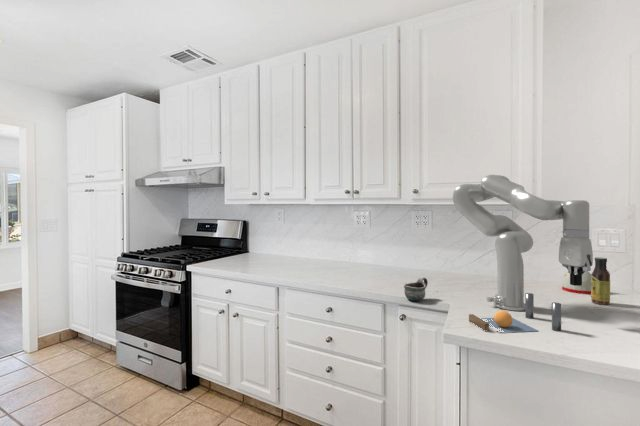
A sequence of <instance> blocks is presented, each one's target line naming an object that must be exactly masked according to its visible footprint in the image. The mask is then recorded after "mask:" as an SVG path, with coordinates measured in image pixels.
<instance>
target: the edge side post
mask: <svg viewBox="0 0 640 426" xmlns="http://www.w3.org/2000/svg"><path fill="white" fill-rule="evenodd" d="M551 330H552V331H554V332H562V303H560V302H551Z"/></svg>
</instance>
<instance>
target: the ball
mask: <svg viewBox="0 0 640 426" xmlns="http://www.w3.org/2000/svg"><path fill="white" fill-rule="evenodd" d="M493 318H494V320H495V322H496V324H497V325H498V326H500V327H504V328H505V327H509V326H510V325H511V324H512V318H513V317H512V315H511V313H509V312H508V311H506V310H498V311H497V312H495V314H494V317H493Z"/></svg>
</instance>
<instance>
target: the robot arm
mask: <svg viewBox="0 0 640 426" xmlns="http://www.w3.org/2000/svg"><path fill="white" fill-rule="evenodd" d="M494 198H497V199H498V200H501V201H503V202H505V203H508V204H509V205H511V206H512V207H514V208H515V209H517V210H518V211H520V212H522V213H524V214H526V215H527V216H528V215H529V216H531V217H532V218H535V219H537V220H540V221H557V220H559V221H560V220H562V237H561V238H560V241H559V246H558V247H559V248H558V262H559V263H560V264H561V265H562V267H564V268H566V269H567V273H568V272H569V273H570V285H574V286H580V285H582V275H583V274H584V272H585V271H588V272H591V271H592V268H591V267H592V266H593V264H594V253H593V246H592V241H591V239H590V203H589V201H587V200H580V199H578V200H577V199H576V200H574V199H573V200H566V201H563V200H555V199H554V200H553V199H552V200H550V199H544V198H542V197H539V196H536V195H534V194H531V193H530V192H528V191H526V189H525V187H524V186H523V185H521V184H518V183H516V182H515V181H514V182H513V181H511V180H510V179H509V178H508V177H507V176H504V175H500V174H499V175H498V174H488V175H486V176H484V177H483V178H482V179H481V181H480V182H479V184H478V183H477V184H476V183H474V184H473V183H464V184H459V185H458V186H456V187H455V188H454V190H453V193H452V201H453V202H452V203H453V205H454V207H455V209H456V210H457V211H458V213H459V214H461V215H462V216H463V217H464V218H465V219H467V220H468V221H469V222H470V223H471V224H472V225H473V226H475V228H477V229H478V230H479V231H480V232H481V233H482V234H483V235H484V236H487V237H491V238H493V237H496V239H495V242H494V247H495V252H496V260H497V263H496V264H497V294H494V296H492V297H491V296H490V297H489V296H487V297H486V302H488V303H493V306H494V307H496V308H499V309H502V310H505V311H506V310H508V311H518V312H519V311H520V312H523V311H525V297H524V295H525V293H524V290H525V287H524V286H525V279H524V277H525V273H524V270H525V269H524V260H523V255H522V253H526V252H529V251H530V250H531V249H532V247H533V246H534V240H533V237H532V236H531V234H530V233H529V232H527V231H526V229H524V228H522V226H520V225H519V224H518V223H516V222H515V221H514V220H513V219H512V218H510V217H508V216H505V215H502V214H493V213H491V212H490V211H488V209H486V208H485V207H484V206H482V205H481V204H479V203H481V202H485V201H487V200H490V199H494Z"/></svg>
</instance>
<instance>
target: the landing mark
mask: <svg viewBox="0 0 640 426" xmlns="http://www.w3.org/2000/svg"><path fill="white" fill-rule="evenodd" d="M480 318H481V317H480ZM481 319H487V320H488V322H487V323H489V324H490V323H491V324H492V325H493V326H494V327H495V328H497V329H498V328H499V329H500V328H501V331H502V330H503V331H504V332H512V333H530V332H534V331H536V332H539V330H538V329H536V328H534V327H531V326H530V325H528V324H526V323H524V322H523V321H522V322H521V321H520V320H518V319H516V318H515V317H514V318H513V317H512V324H511V325H510V326H509V327H505V328H504V327H500V326H498V325H497V324H496V322H495V320H494V317H482V318H481ZM491 319H492V320H493V321H492V320H491ZM487 320H486V321H487ZM489 320H490V321H489ZM491 324H490V325H491ZM490 325H489V326H490ZM492 325H491V326H492ZM491 326H490V327H491ZM493 326H492V327H493ZM490 327H489V328H490ZM499 331H500V330H499Z"/></svg>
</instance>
